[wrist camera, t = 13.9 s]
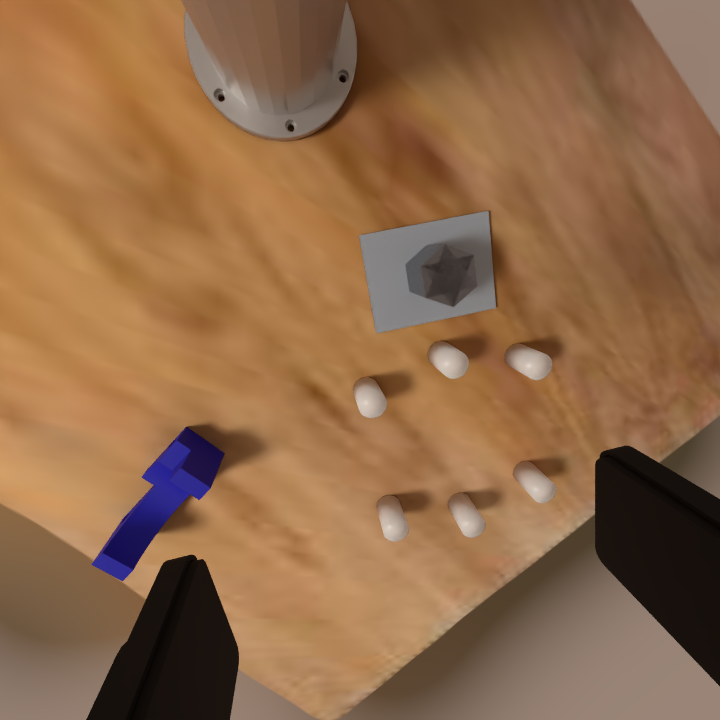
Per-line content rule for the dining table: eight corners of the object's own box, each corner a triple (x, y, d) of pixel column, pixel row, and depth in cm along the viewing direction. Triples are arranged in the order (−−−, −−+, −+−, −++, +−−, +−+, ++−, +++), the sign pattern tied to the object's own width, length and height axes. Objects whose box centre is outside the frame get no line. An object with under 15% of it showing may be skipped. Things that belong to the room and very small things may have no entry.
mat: (359, 235, 34) (359, 235, 34) (486, 211, 35) (488, 210, 35) (376, 332, 37) (376, 333, 36) (494, 307, 38) (496, 307, 37)
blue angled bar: (187, 425, 37) (165, 457, 31) (224, 452, 38) (210, 488, 32) (110, 510, 38) (75, 555, 32) (149, 533, 39) (122, 581, 34)
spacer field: (346, 361, 37) (351, 373, 33) (526, 322, 38) (551, 329, 35) (381, 532, 43) (389, 559, 39) (535, 492, 44) (557, 515, 41)
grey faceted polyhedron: (402, 250, 34) (418, 249, 30) (449, 240, 35) (472, 238, 30) (411, 305, 36) (428, 313, 31) (456, 295, 36) (478, 301, 31)
